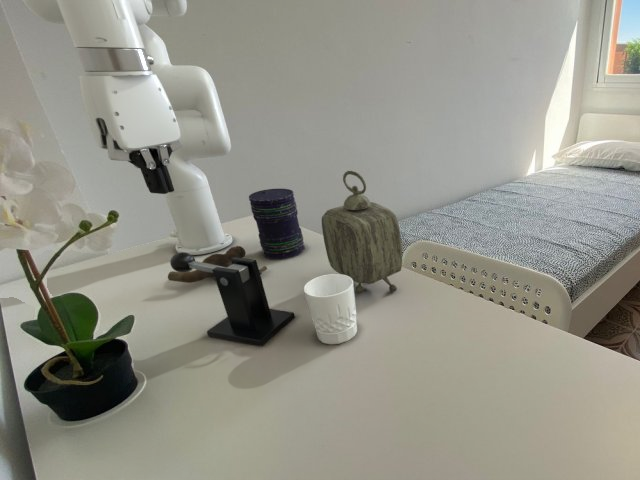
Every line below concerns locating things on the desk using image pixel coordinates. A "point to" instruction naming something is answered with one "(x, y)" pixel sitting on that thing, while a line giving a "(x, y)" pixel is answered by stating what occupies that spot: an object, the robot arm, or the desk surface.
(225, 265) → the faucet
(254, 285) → the bracket
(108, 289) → the desk surface
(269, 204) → the dark blue cylinder
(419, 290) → the desk surface
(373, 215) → the tabletop clock
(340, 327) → the white cup
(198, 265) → the tap lever
